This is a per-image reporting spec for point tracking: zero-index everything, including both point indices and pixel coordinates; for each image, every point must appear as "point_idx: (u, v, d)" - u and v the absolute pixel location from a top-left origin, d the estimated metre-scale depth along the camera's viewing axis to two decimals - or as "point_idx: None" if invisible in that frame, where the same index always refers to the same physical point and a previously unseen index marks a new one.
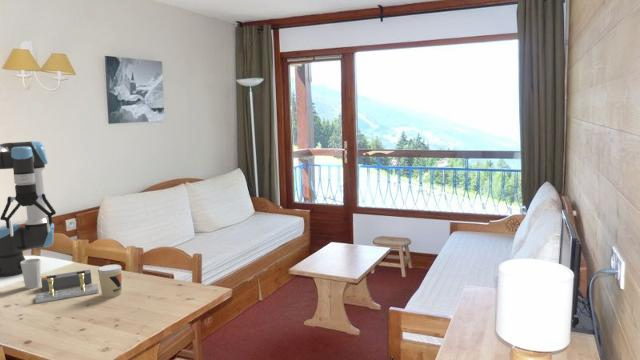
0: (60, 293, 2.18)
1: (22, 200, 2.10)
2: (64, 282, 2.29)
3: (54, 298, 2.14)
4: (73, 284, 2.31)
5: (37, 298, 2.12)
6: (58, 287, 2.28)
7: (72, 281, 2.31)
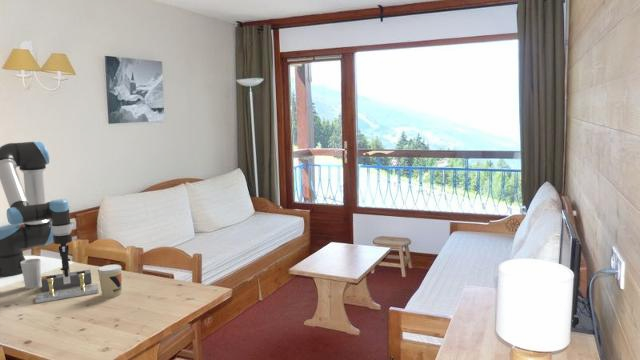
0: (60, 293, 2.18)
1: (59, 248, 2.31)
2: None
3: (54, 298, 2.14)
4: (73, 284, 2.31)
5: (37, 298, 2.12)
6: (58, 287, 2.28)
7: (72, 281, 2.31)
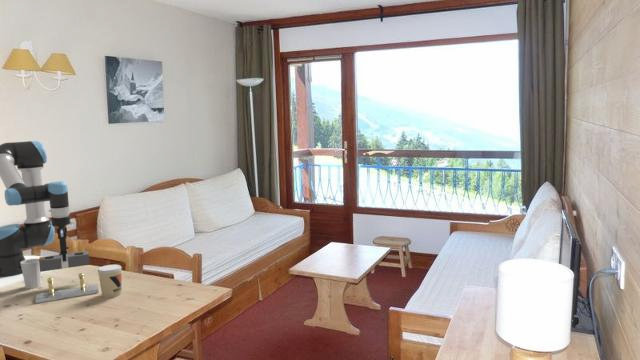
0: (60, 293, 2.18)
1: (57, 230, 2.30)
2: None
3: (54, 298, 2.14)
4: (71, 265, 2.30)
5: (37, 298, 2.12)
6: (56, 268, 2.27)
7: (70, 262, 2.30)
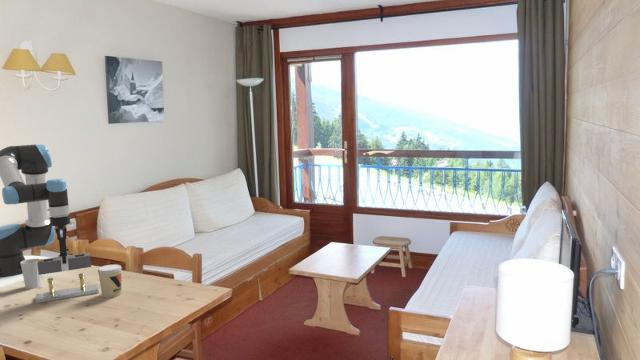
0: (60, 293, 2.18)
1: None
2: None
3: (54, 298, 2.14)
4: (72, 267, 2.16)
5: (37, 298, 2.12)
6: (55, 271, 2.14)
7: (70, 264, 2.16)
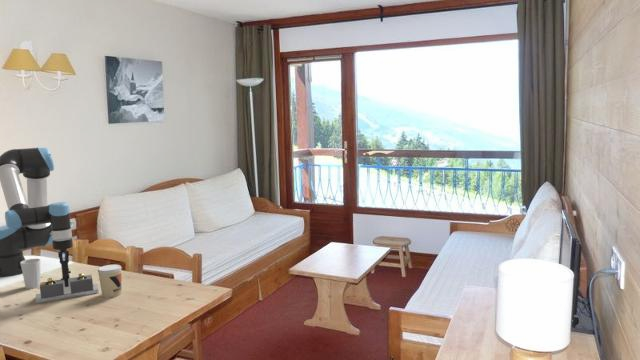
0: None
1: (58, 254, 2.18)
2: None
3: (54, 298, 2.14)
4: (74, 290, 2.18)
5: (37, 298, 2.12)
6: (58, 294, 2.15)
7: (72, 287, 2.17)
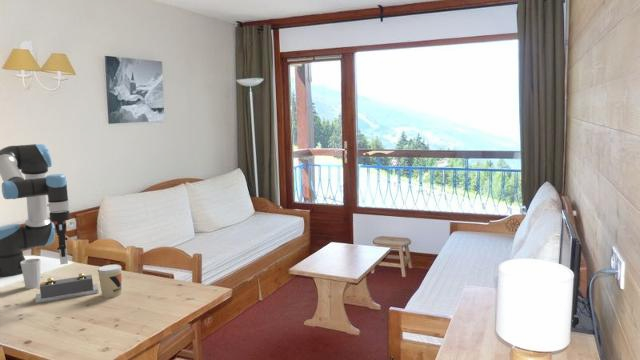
0: None
1: None
2: (64, 288, 2.16)
3: (54, 298, 2.14)
4: (74, 290, 2.18)
5: (37, 298, 2.12)
6: (58, 294, 2.15)
7: (72, 287, 2.17)
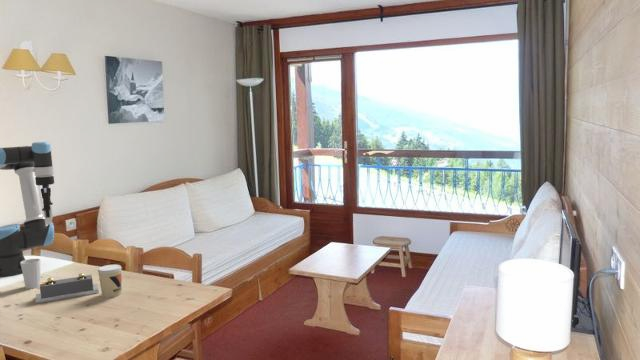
0: None
1: None
2: (64, 288, 2.16)
3: (54, 298, 2.14)
4: (74, 290, 2.18)
5: (37, 298, 2.12)
6: (58, 294, 2.15)
7: (72, 287, 2.17)
